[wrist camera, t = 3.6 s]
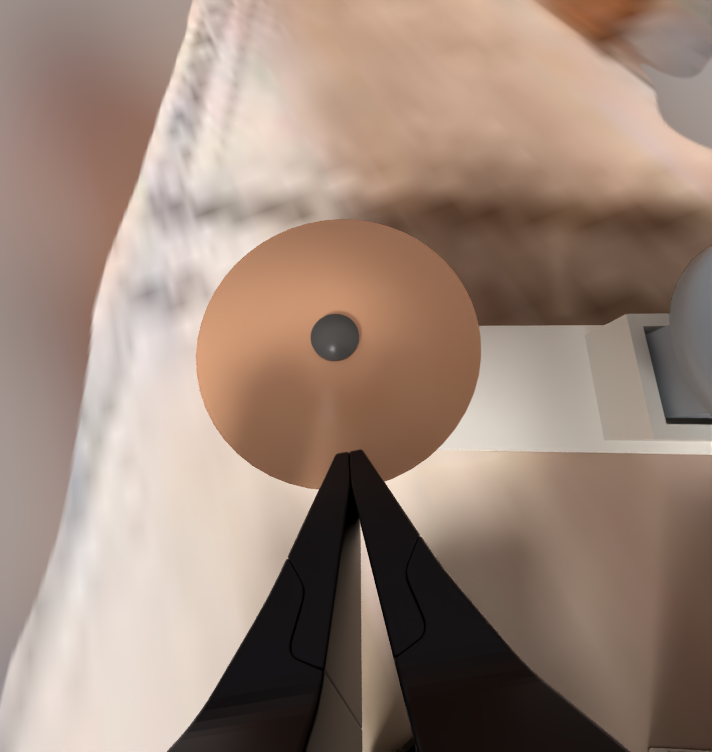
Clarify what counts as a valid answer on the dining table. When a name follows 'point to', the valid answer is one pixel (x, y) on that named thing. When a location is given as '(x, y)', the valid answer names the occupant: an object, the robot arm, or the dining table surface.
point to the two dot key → (686, 344)
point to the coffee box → (674, 750)
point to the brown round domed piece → (338, 351)
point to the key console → (574, 393)
